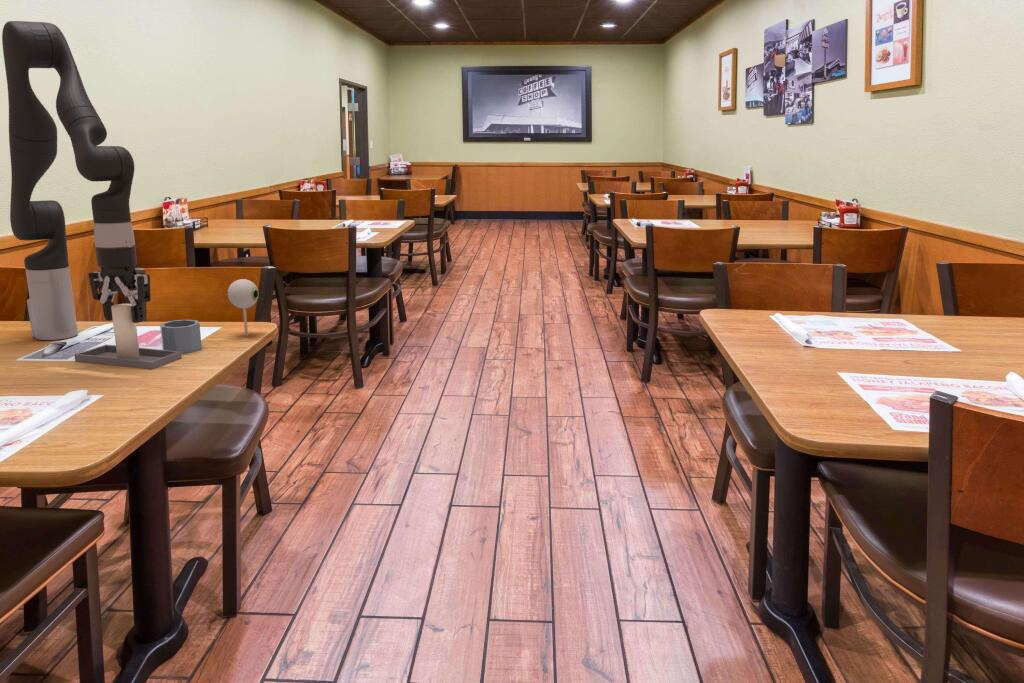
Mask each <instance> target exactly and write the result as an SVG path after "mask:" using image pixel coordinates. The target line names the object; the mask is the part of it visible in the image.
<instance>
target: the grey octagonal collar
mask: <svg viewBox="0 0 1024 683" xmlns="http://www.w3.org/2000/svg"><path fill="white" fill-rule="evenodd" d="M200 326H201V325H200V322H199V320H195V319H177V320H176V319H175V320H168V321H166V322H161V323H160V324H159V327H160V328H159V329H160V337H161V338H160V339H161V347H162V350H170V351H180V352H181V355H182V354H192V353H195V352H198V351H200V350H202V349H203V348H202V337H201V335H202V334H201V327H200Z"/></svg>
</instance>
